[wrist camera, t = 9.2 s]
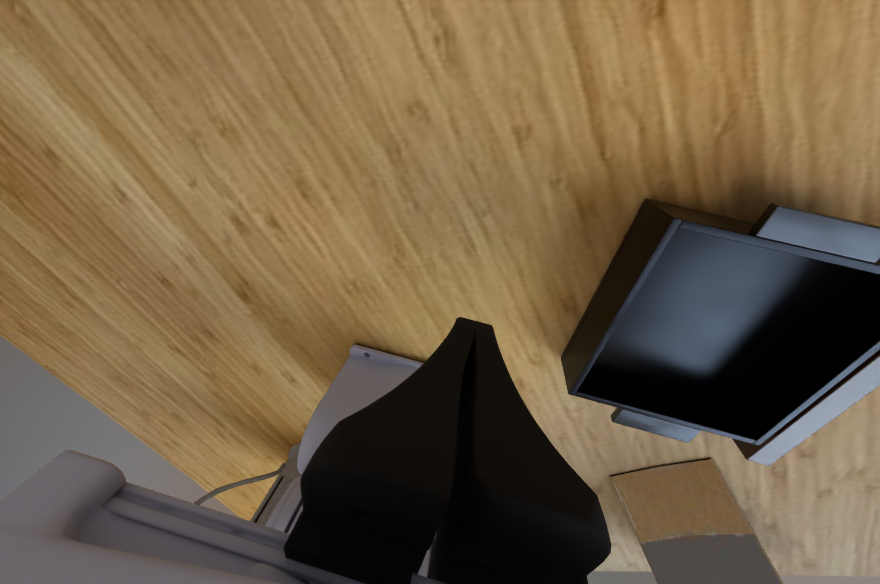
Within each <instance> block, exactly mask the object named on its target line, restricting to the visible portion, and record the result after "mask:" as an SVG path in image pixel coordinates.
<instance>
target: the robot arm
mask: <svg viewBox="0 0 880 584" xmlns="http://www.w3.org/2000/svg"><path fill="white" fill-rule="evenodd" d="M367 353H368V354H367ZM297 469H298V472H299V473H300V474H302V475H301V476H299V477H297V478H295V479H294V480H293V481H292V483H291V484H290V485H289V487H288V488H287V490H286V491H285V493H284V494H283V496H282V497H281V499H280V501H279V502H278V504H277V506H276V507H275V509H274V511H273V512H272V514H271V516H270V518H269V519H268V521H267V523H266V525H265V526H263V525H260V524H257V523H254V522H251V521H247V520H244V519H241V518H238V517H235V516H232V515H229V514H225V513H222V512H219V511H216V510H213V509H210V508H206V507H203V506H200V505H197V504H194V503H191V502H188V501H184V500H181V499H178V498H175V497H172V496H169V495H166V494H162V493H159V492H156V491H153V490H150V489H147V488H143V487H140V486H137V485H134V484H131V483H128V482H126V478H125V476H124V474H123V473H122V471H121V470H120V469H119V468H117V467H116V466H115V465H113V464H112V463H109V462H107V461H104V460H101V459H98V458H95V457H91V456H89V455H85V454H82V453H79V452H76V451H73V450H66V451H64V452H62V453H61V454H60V455H58V456H57V457H56V458H55V459H53V460H52V461H51V462H50V463H48V464H47V465H46V466H44V467H43V468H42V469H41V470H39V471H38V472H37V473H35V474H34V475H33V476H32V477H30V478H29V479H28V480H26V481H25V482H24V483H23V484H21V485H20V486H19V487H17V488H16V489H15V490H14V491H12V492H11V493H10V494H8V495H7V496H6V497H5V498H3V499H2V500H1V501H0V584H588V580H587V575H588V574H589V573H590V572H592V571H593V570H594V569H595V568H597V567H598V566H599V565H600V564H601V563H603V562H604V560H605V559H606V558H607V557H608V555H609V554H610V553H611V542H610V537H609V533H608V529H607V525H606V521H605V518H604V514H603V511H602V509H601V506H600V503H599V500H598V496H597V495H596V494H595V493H594V492H593V490H592V489H591V488H590V487H589V486H588V485H587V484H586V483H585V482H584V481H583V480H582V479H581V477H580V476H579V475H578V474H577V473H576V472H575V471H574V470H573V469H572V468H571V467H570V465H569V464H568V463H567V462H566V461H565V460H564V458H563V457H562V456H561V455H560V453H559V452H558V451H557V450H556V449H555V447H554V446H553V445H552V444H551V442H550V441H549V439H548V438H547V437H546V435H545V434H544V433H543V431H542V430H541V428H540V427H539V426H538V424H537V423H536V421H535V420H534V418H533V417H532V415H531V414H530V412H529V410H528V409H527V407H526V405H525V404H524V402H523V400H522V398H521V397H520V395H519V393H518V391H517V389H516V387H515V385H514V383H513V381H512V379H511V377H510V374H509V372H508V370H507V368H506V365H505V363H504V360H503V358H502V355H501V352H500V350H499V347H498V344H497V340H496V337H495V333H494V329H493V327H492V325H489V324H485V323H481V322H478V321H474V320H470V319H466V318H462V317H459V318H457V319H456V322H455V324H454V326H453V328H452V329H451V331H450V333H449V334H448V335H447V337H446V338H445V339H444V341H443V342H442V343H441V345H440V346H439V347H438V348H437V350H436V351H435V352H434V353H433V354H432V355H431V356H430V357H429V358H428V359H427V360H426V361H425V362H424V363H422V362H418V361H414V360H411V359H407V358H403V357H400V356H396V355H392V354H389V353H385V352H381V351H378V350H374V349H370V348H367V347H363V346H359V345H353V346H352V347H351V348H350V356H349V357H348V359H347V360H346V362H345V364H344V365H343V367H342V368H341V370H340V371H339V373H338V375H337V376H336V378H335V379H334V381H333V382H332V384H331V386H330V387H329V389H328V390H327V392H326V394H325V395H324V397H323V398H322V400H321V401H320V403H319V405H318V406H317V408H316V409H315V411H314V413H313V415H312V417H311V419H310V421H309V423H308V425H307V428H306V430H305V433H304V435H303V438H302V441H301V444H300V448H299V452H298V458H297Z"/></svg>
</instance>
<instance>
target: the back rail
mask: <svg viewBox="0 0 880 584" xmlns="http://www.w3.org/2000/svg"><path fill="white" fill-rule="evenodd" d="M879 385H880V350H878V351H877V352H876V353H874V354H873V355H872V356H871V357H869V358H868V359H867V360H866V361H864V362H863V363H862V364H861V365H859V366H858V367H857V368H856V369H854V370H853V371H852V372H851V373H849V374H848V375H847V376H846V377H844V378H843V379H842V380H841V381H839V382H838V383H837V384H836V385H834V386H833V387H832V388H831V389H829V390H828V391H827V392H826V393H824V394H823V395H822V396H820V397H819V398H818V399H817V400H815V401H814V402H813V403H812V404H810V405H809V406H808V407H807V408H805V409H804V410H803V411H802V412H800V413H799V414H798V415H797V416H795V417H794V418H793V419H792V420H790V421H789V422H788V423H787V424H785V425H784V426H783V427H782V428H780V429H779V430H778V431H777V432H775V433H774V434H773V435H771V436H770V437H769V438H768V439H766V440H765V441H764V442H763V443H761V444H760V445H755V444H751V443H747V442H744V441H740V440H736V439H733V438H732V439H733V440H734V442H735V443H736V445H737V446H738V448H739V449H740V451H741V452H742V454H743V455H744V457H745V458H746V459H747V460H749V461H753V462H757V463H760V464H764V465H767V466H770V465H771V464H772V463H774V462H775V461H776V460H778V459H779V458H781V457H782V456H783V455H785V454H786V453H787V452H789V451H790V450H792V449H793V448H794V447H796V446H797V445H798V444H800V443H801V442H803V441H804V440H805V439H807V438H808V437H809V436H811V435H812V434H814V433H815V432H816V431H818V430H819V429H820V428H822V427H823V426H825V425H826V424H827V423H829V422H830V421H831V420H833V419H834V418H835V417H837V416H838V415H840V414H841V413H842V412H844V411H845V410H846V409H848V408H849V407H851V406H852V405H853V404H855V403H856V402H857V401H859V400H860V399H862V398H863V397H864V396H866V395H867V394H868V393H870V392H871V391H873V390H874V389H875V388H877V387H878V386H879Z"/></svg>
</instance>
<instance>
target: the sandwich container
mask: <svg viewBox="0 0 880 584" xmlns="http://www.w3.org/2000/svg"><path fill="white" fill-rule="evenodd" d="M610 478H611V480H612V482H613V484H614V486H615V489H616V491H617V493H618V495H619V498H620V500H621V502H622V504H623V507H624V509H625V511H626V513H627V516H628V518H629V520H630V522H631V525H632V527H633V529H634V531H635V534H636V536H637V538H638V540H639V543H640V545H641V547H642V549H643V552H644V554H645V556H646V558H647V561H648V563H649V565H650V567H651V570H652V572H653V574H654V576H655V579H656V581H657V583H658V584H783V582H782V580H781V578H780V577H779V575H778V573H777V571H776V570H775V568H774V566H773V564H772V563H771V561H770V559H769V557H768V556H767V554H766V552H765V550H764V549H763V547H762V545H761V543H760V542H759V540H758V538H757V536H756V535H755V533H754V531H753V529H752V528H751V526H750V524H749V522H748V521H747V519H746V517H745V515H744V514H743V512H742V510H741V508H740V507H739V505H738V503H737V501H736V499H735V498H734V496H733V494H732V492H731V490H730V489H729V487H728V485H727V483H726V482H725V480H724V478H723V476H722V474H721V473H720V471H719V469H718V467H717V466H716V464H715V462H714V460H713V458H710V459H709V460H702V461H695V462H688V463H682V464H675V465H668V466H661V467H655V468H650V469H645V470H641V471H636V472H631V473H626V474H621V475H617V476H610Z"/></svg>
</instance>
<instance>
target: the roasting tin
mask: <svg viewBox="0 0 880 584" xmlns="http://www.w3.org/2000/svg"><path fill="white" fill-rule="evenodd" d="M878 350H880V226H875V225H871V224H866V223H862V222H857V221H853V220H848V219H844V218H839V217H835V216H830V215H826V214H821V213H817V212H812V211H808V210H803V209H799V208H794V207H790V206H785V205H781V204H776V203H770V205H769V206H768V207H767V209H766V210H765V211H764V213H763V214H762V215H761V217H760V218H759V219H758V221H757V222H756V223H752V222H748V221H743V220H739V219H734V218H730V217H726V216H721V215H717V214H712V213H708V212H704V211H699V210H695V209H690V208H686V207H681V206H677V205H673V204H668V203H664V202H659V201H655V200H651V199H645V201H644V202H643V204H642V206H641V208H640V210H639V212H638V214H637V216H636V217H635V219H634V221H633V223H632V225H631V227H630V229H629V231H628V233H627V234H626V236H625V238H624V240H623V242H622V244H621V246H620V248H619V249H618V251H617V253H616V255H615V257H614V259H613V261H612V263H611V265H610V266H609V268H608V270H607V272H606V274H605V276H604V278H603V280H602V281H601V283H600V285H599V287H598V289H597V291H596V293H595V295H594V296H593V298H592V300H591V302H590V304H589V306H588V308H587V310H586V312H585V313H584V315H583V317H582V319H581V321H580V323H579V325H578V327H577V328H576V330H575V332H574V334H573V336H572V338H571V340H570V342H569V344H568V345H567V347H566V349H565V351H564V353H563V355H562V357H561V361H562V365H563V370H564V375H565V380H566V385H567V390H568V394H570V395H575V396H577V397H581V398H585V399H588V400H592V401H596V402H599V403H603V404H607V405H611V406H614V407H617V408H616V410H615V411H614V412H613V414H612V415H611V419H612V422H614V423H618V424H622V425H625V426H629V427H633V428H636V429H640V430H644V431H647V432H651V433H654V434H658V435H662V436H665V437H669V438H673V439H676V440H680V441H684V442H687V443H688V442H690V441H691V440H692V439H693V438H694V437H695V436H696V435H697V434H698V433H699V432H700V431H701V430H703V431H707V432H710V433H714V434H718V435H722V436H725V437H729V438H733V439H736V440H740V441H744V442H747V443H751V444H755V445H760V444H761V443H763V442H764V441H765V440H766V439H768V438H769V437H770V436H771V435H773V434H774V433H775V432H777V431H778V430H779V429H780V428H782V427H783V426H784V425H785V424H787V423H788V422H789V421H790V420H792V419H793V418H794V417H795V416H797V415H798V414H799V413H800V412H802V411H803V410H804V409H805V408H807V407H808V406H809V405H810V404H812V403H813V402H814V401H815V400H817V399H818V398H819V397H820V396H822V395H823V394H824V393H826V392H827V391H828V390H829V389H831V388H832V387H833V386H834V385H836V384H837V383H838V382H839V381H841V380H842V379H843V378H844V377H846V376H847V375H848V374H849V373H851V372H852V371H853V370H854V369H856V368H857V367H858V366H859V365H861V364H862V363H863V362H864V361H866V360H867V359H868V358H869V357H871V356H872V355H873V354H874V353H876V352H877V351H878Z"/></svg>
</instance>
